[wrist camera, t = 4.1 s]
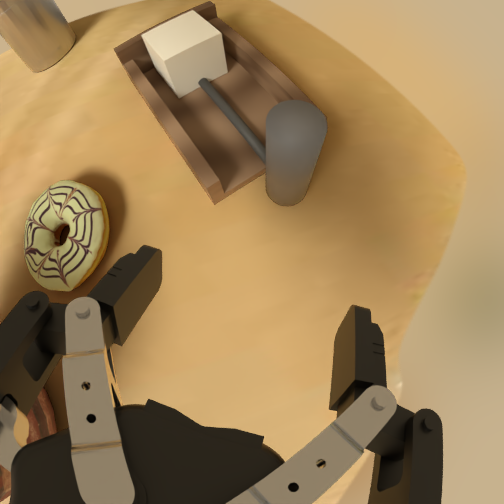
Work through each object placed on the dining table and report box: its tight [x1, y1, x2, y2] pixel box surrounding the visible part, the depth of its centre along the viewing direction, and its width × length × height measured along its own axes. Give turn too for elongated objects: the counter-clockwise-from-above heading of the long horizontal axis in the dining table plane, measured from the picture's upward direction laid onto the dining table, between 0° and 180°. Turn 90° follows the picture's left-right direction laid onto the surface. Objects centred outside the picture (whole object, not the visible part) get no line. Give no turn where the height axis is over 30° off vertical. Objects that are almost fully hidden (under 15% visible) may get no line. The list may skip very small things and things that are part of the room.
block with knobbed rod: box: [141, 10, 327, 206], centre depth 23 cm, size 22×6×10 cm, turn 34°
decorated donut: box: [24, 180, 110, 291], centre depth 26 cm, size 10×11×4 cm
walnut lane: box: [114, 1, 327, 205], centre depth 27 cm, size 20×12×6 cm, turn 34°
